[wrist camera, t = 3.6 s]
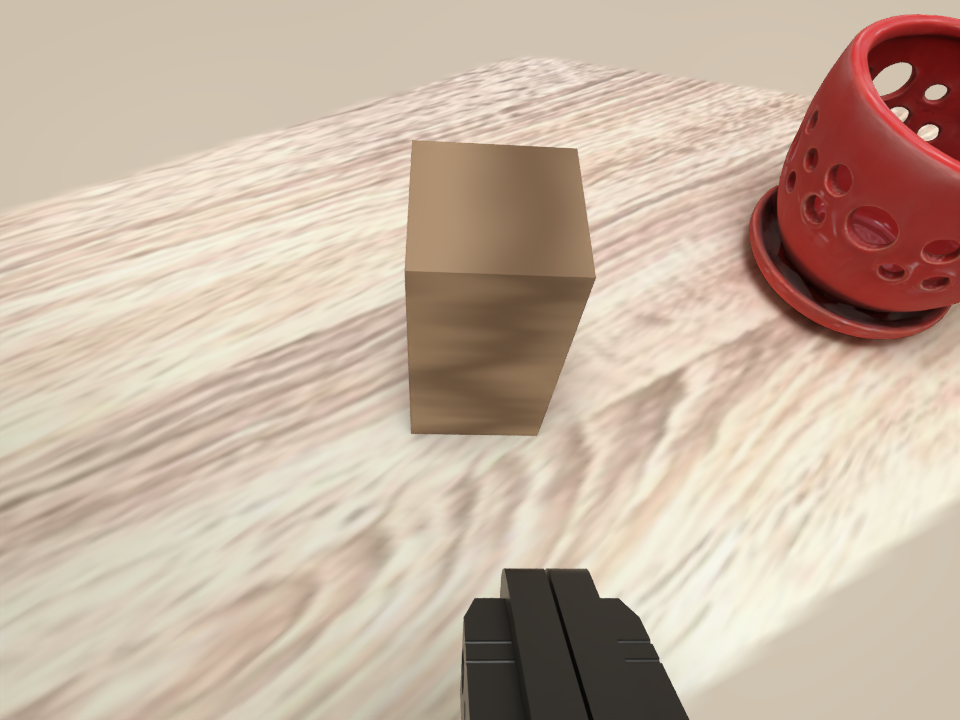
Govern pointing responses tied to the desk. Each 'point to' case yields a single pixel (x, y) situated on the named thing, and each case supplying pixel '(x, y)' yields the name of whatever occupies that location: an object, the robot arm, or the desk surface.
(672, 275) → the desk surface
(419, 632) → the desk surface
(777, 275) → the plant pot
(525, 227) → the walnut block
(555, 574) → the robot arm
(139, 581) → the desk surface
